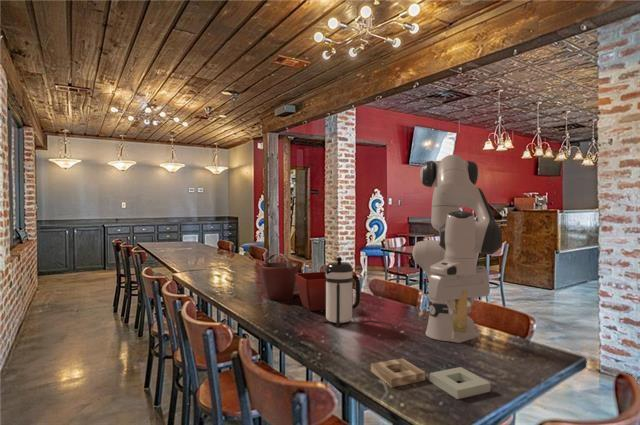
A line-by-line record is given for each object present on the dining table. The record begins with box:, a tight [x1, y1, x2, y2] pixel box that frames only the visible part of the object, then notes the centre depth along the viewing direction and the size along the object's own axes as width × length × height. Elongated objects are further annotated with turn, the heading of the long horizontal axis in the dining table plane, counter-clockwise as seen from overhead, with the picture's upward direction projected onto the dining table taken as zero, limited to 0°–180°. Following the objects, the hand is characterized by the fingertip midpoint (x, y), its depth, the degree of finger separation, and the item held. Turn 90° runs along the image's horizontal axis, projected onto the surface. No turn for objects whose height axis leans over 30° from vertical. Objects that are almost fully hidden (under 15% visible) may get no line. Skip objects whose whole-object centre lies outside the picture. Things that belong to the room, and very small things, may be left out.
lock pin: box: [453, 291, 468, 333], centre depth 116 cm, size 4×4×12 cm
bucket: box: [259, 253, 299, 301], centre depth 230 cm, size 24×22×25 cm
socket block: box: [429, 366, 491, 400], centre depth 116 cm, size 12×12×2 cm
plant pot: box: [295, 271, 326, 312], centre depth 206 cm, size 19×19×17 cm
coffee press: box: [322, 256, 361, 328], centre depth 180 cm, size 17×16×30 cm
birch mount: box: [370, 357, 426, 388], centre depth 123 cm, size 12×12×2 cm
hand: (459, 313), depth 116 cm, fingers closed on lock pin, 4 cm apart
